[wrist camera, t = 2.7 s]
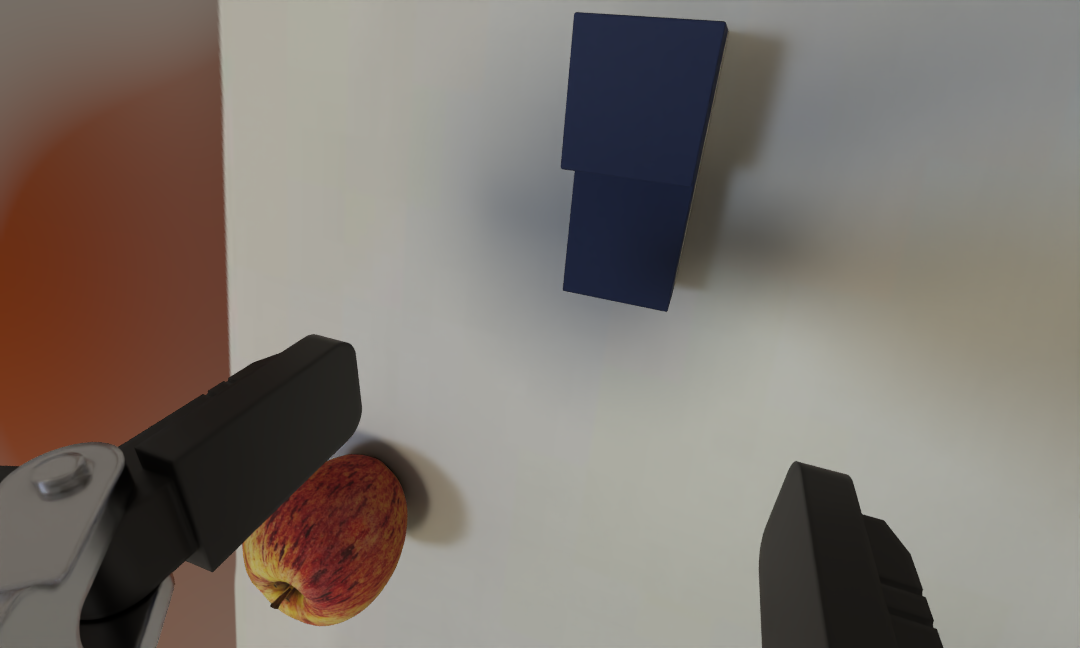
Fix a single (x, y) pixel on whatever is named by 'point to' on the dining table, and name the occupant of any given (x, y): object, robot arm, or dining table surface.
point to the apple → (331, 542)
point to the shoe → (635, 149)
